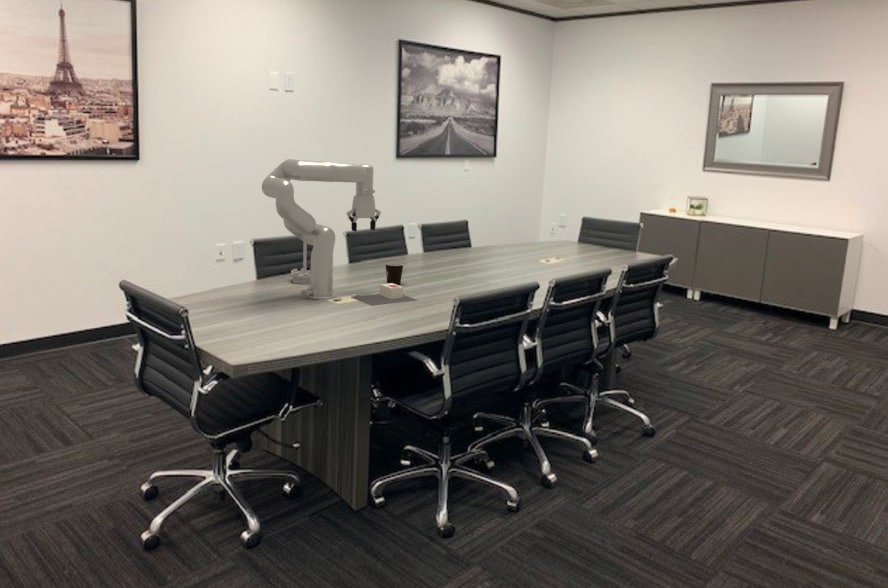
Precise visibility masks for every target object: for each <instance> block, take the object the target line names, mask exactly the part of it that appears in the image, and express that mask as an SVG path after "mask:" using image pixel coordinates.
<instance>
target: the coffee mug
mask: <svg viewBox="0 0 888 588" xmlns="http://www.w3.org/2000/svg"><path fill="white" fill-rule="evenodd" d="M403 267H404V264H403V263H400V262H387V263H385V271H386V272H385V273H386V284H389V283H393V284H396V285H399V286H401V282H402V275H403V271H404V268H403Z"/></svg>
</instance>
